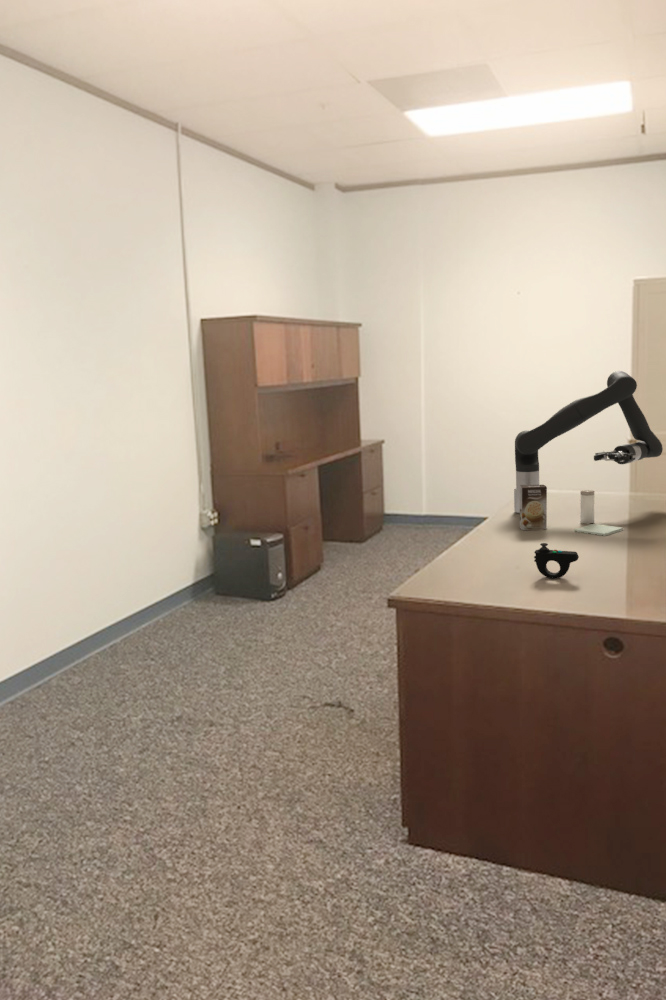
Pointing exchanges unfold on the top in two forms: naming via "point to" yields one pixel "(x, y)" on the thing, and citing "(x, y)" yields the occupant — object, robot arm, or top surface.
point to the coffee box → (533, 507)
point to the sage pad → (599, 529)
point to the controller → (554, 555)
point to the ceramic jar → (587, 506)
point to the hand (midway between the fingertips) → (604, 458)
